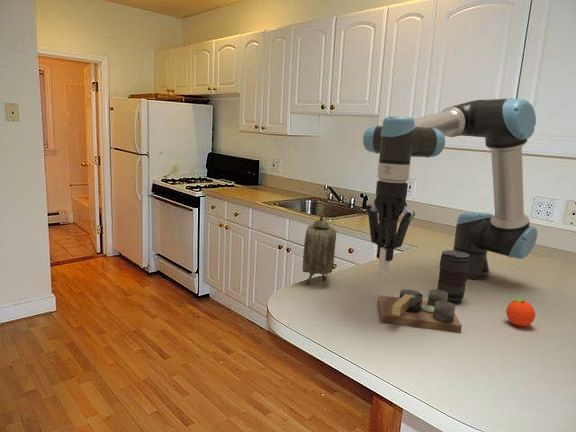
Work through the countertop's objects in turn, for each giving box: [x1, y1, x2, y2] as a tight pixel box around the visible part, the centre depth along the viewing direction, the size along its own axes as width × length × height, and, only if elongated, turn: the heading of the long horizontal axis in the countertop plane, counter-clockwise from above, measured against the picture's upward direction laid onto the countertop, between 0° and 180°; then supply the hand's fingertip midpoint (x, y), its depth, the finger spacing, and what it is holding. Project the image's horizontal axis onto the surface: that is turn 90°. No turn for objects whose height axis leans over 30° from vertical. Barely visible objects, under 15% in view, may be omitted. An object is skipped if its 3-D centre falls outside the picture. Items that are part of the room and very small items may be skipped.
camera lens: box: [436, 249, 469, 305], centre depth 128 cm, size 8×8×15 cm
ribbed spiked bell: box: [302, 205, 337, 286], centre depth 137 cm, size 14×9×25 cm, turn 170°
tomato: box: [505, 298, 536, 327], centre depth 114 cm, size 8×7×7 cm
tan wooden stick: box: [392, 289, 424, 316], centre depth 112 cm, size 15×6×4 cm, turn 147°
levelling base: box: [377, 288, 463, 334], centre depth 115 cm, size 20×15×6 cm
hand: (383, 271), depth 109 cm, fingers closed
